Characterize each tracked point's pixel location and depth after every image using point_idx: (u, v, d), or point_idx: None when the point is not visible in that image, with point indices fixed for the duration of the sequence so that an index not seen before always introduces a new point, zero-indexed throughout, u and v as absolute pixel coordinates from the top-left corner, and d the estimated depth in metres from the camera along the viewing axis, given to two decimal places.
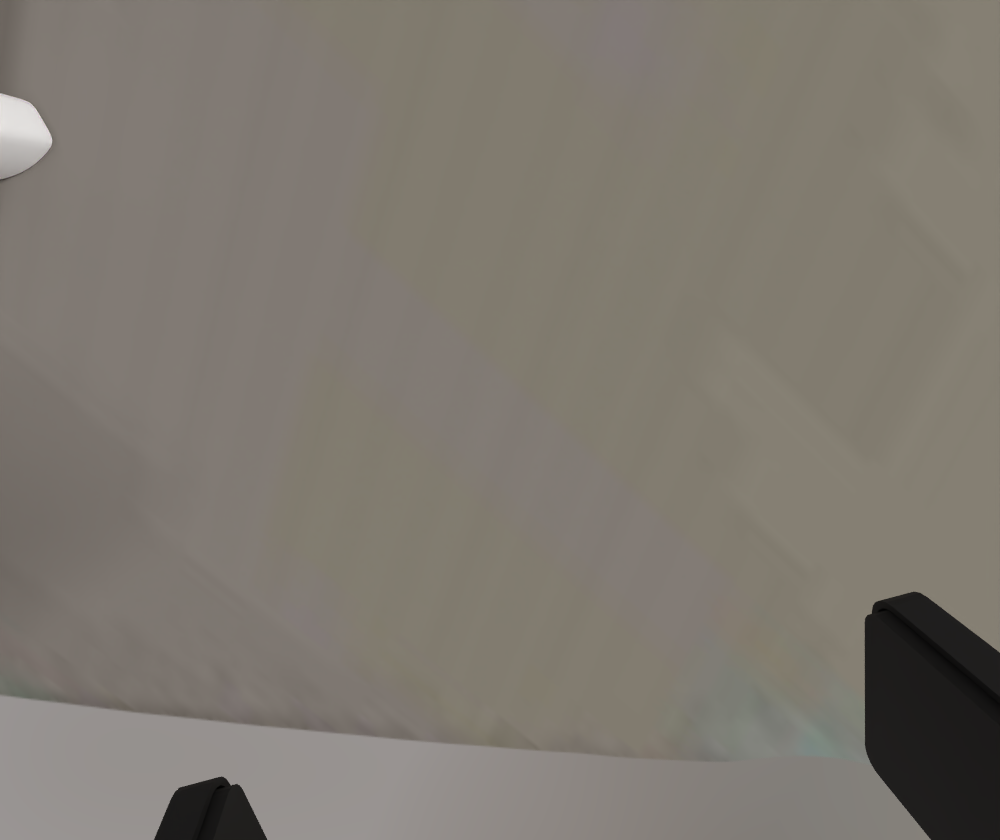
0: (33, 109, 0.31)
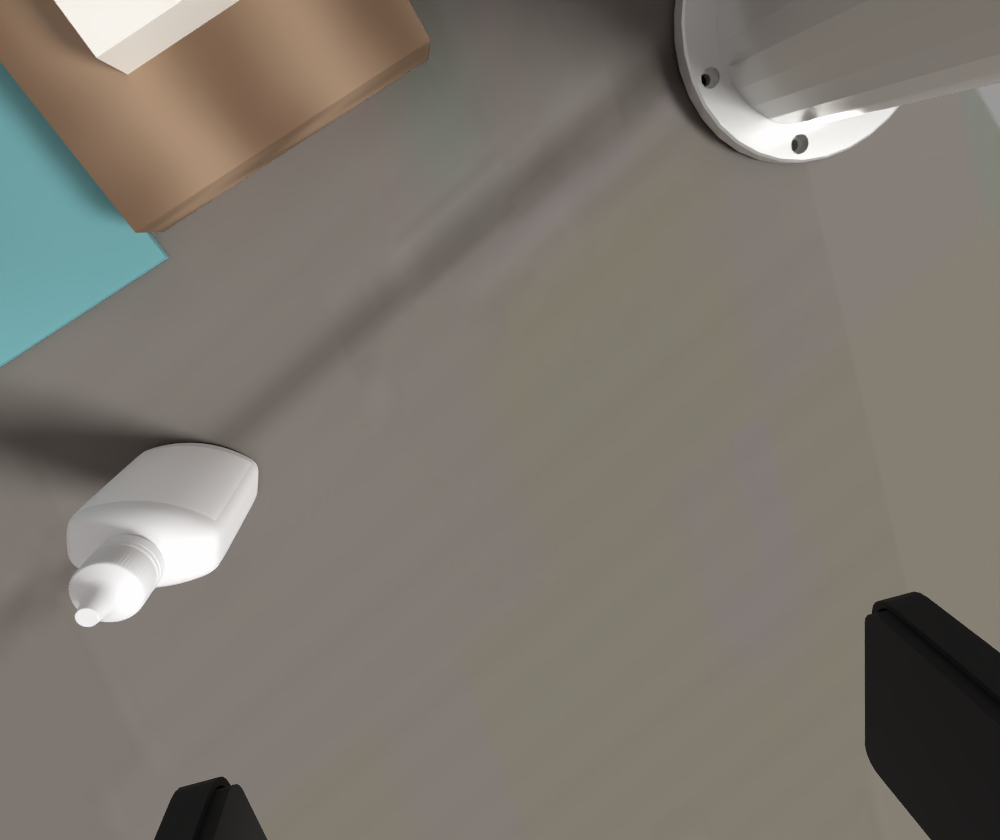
0: (257, 475, 0.31)
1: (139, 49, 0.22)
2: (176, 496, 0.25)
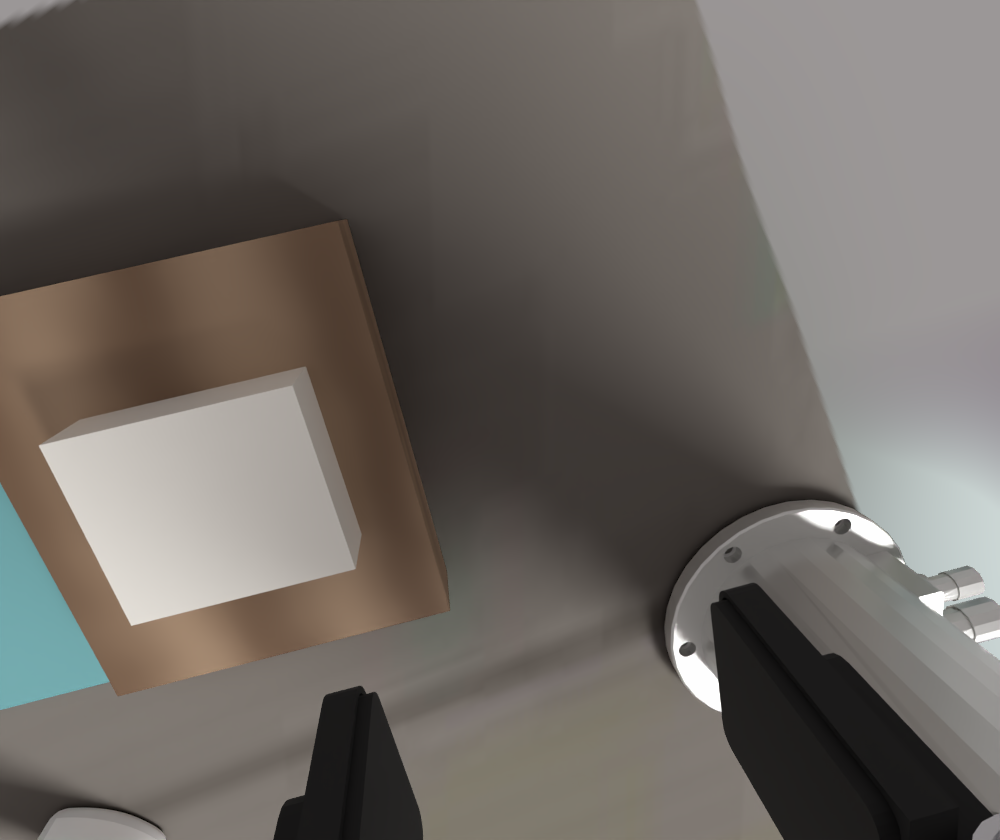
0: None
1: None
2: None
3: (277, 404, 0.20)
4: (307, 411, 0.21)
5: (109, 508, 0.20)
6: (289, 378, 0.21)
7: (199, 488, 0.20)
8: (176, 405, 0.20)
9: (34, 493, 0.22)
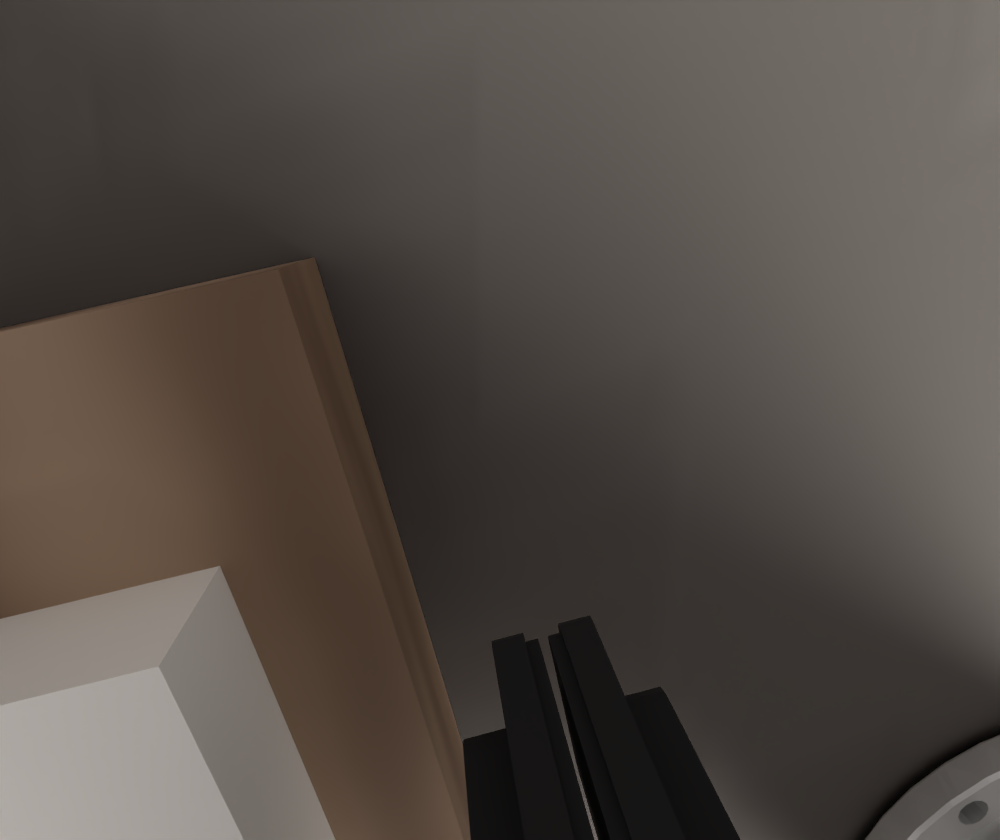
0: None
1: None
2: None
3: (125, 707, 0.08)
4: (208, 694, 0.09)
5: None
6: (169, 619, 0.09)
7: None
8: None
9: None
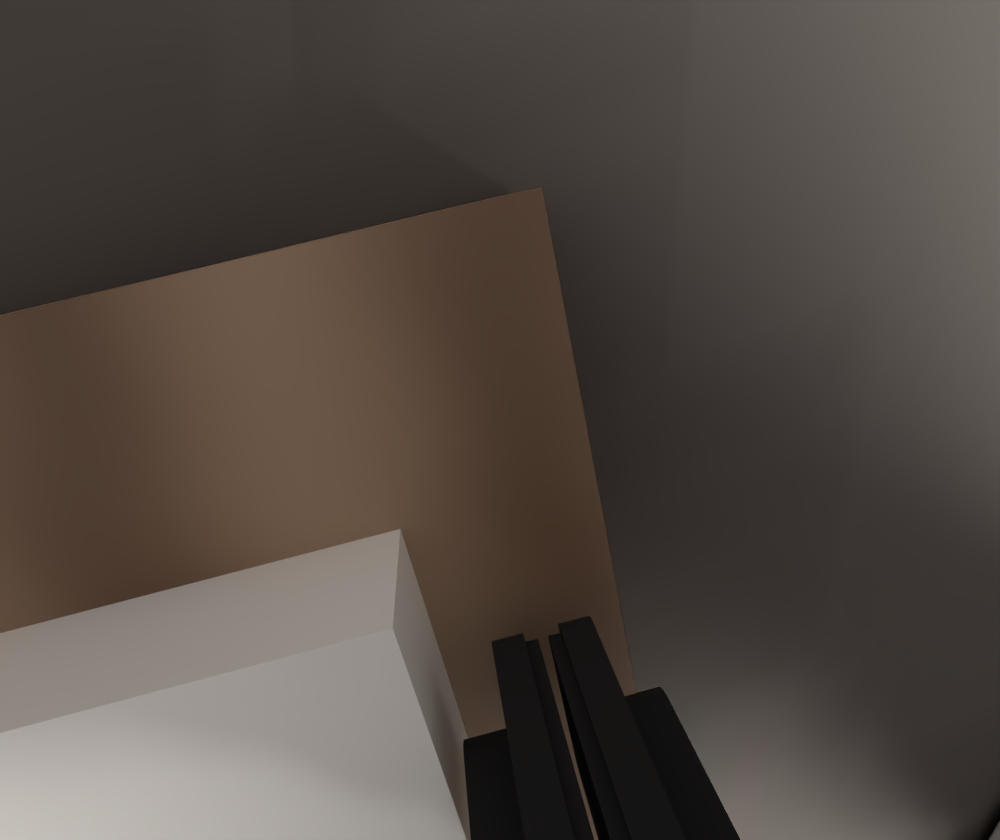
0: None
1: None
2: None
3: (353, 673, 0.08)
4: (418, 661, 0.09)
5: None
6: (374, 582, 0.09)
7: None
8: (103, 655, 0.08)
9: None
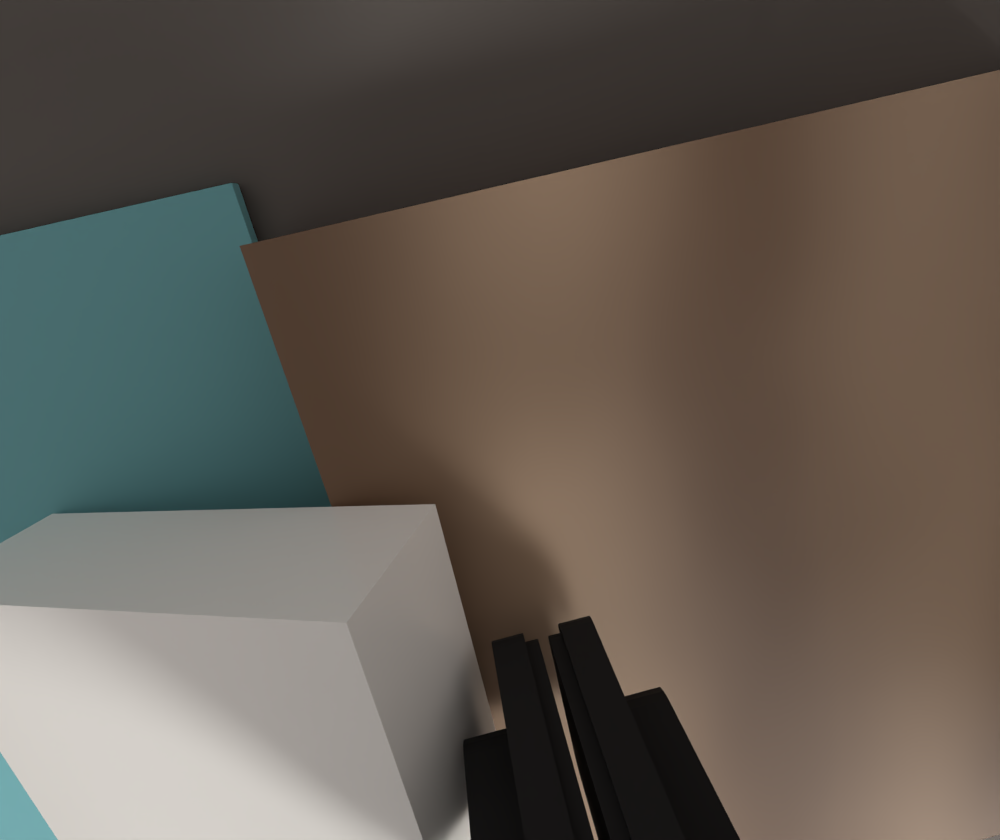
0: None
1: None
2: None
3: (310, 654, 0.07)
4: (401, 657, 0.08)
5: (27, 732, 0.10)
6: (370, 560, 0.08)
7: (164, 757, 0.09)
8: (146, 559, 0.09)
9: None
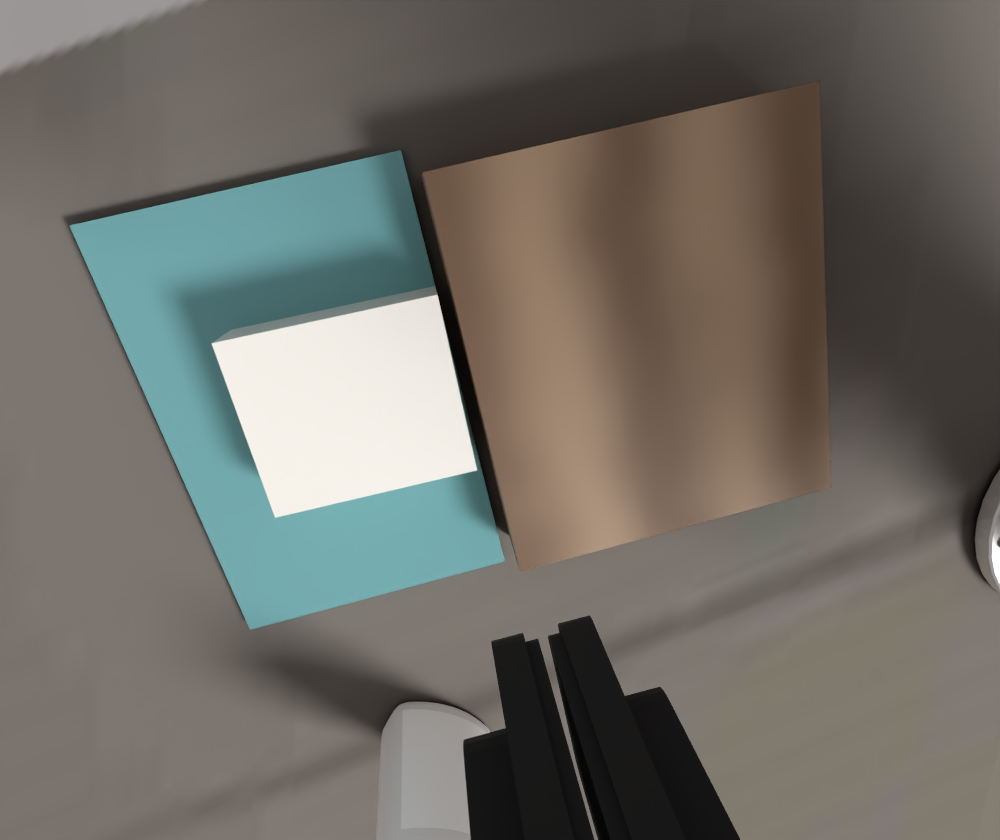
0: None
1: None
2: None
3: (422, 312, 0.22)
4: None
5: (267, 404, 0.22)
6: (427, 292, 0.23)
7: (347, 389, 0.23)
8: (326, 314, 0.23)
9: (493, 358, 0.23)
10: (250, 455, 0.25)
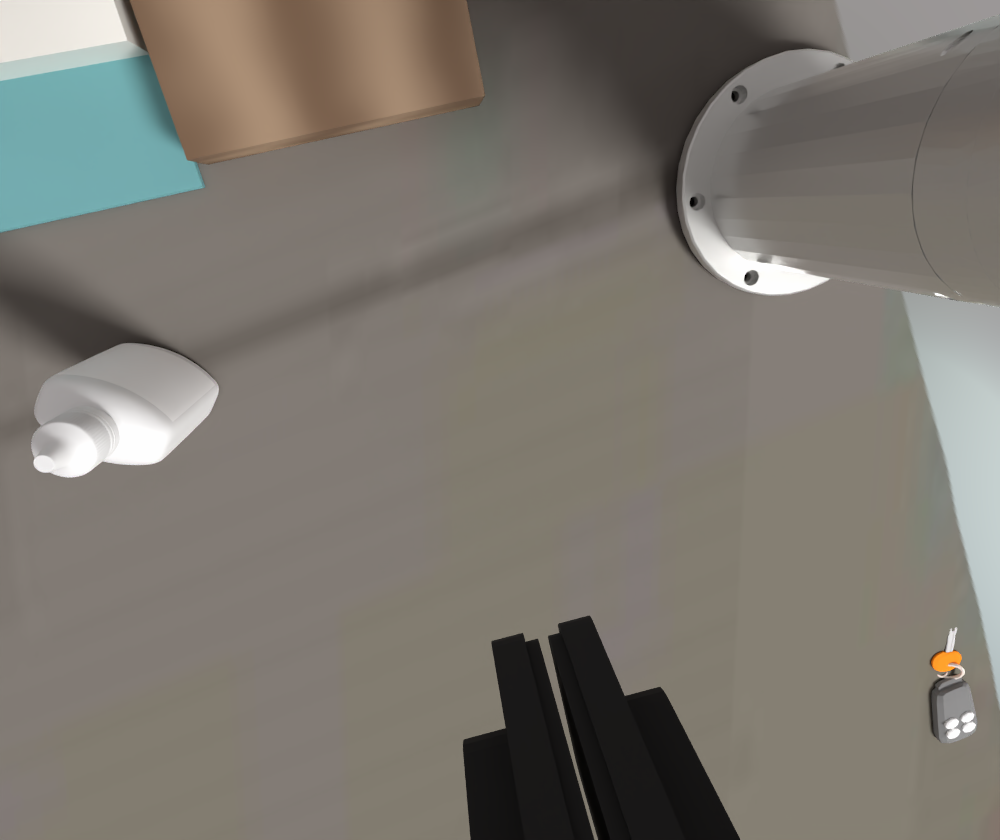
0: (216, 396, 0.34)
1: None
2: (145, 390, 0.28)
3: None
4: None
5: None
6: None
7: None
8: None
9: None
10: None
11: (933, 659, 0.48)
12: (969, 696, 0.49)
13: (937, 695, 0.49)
